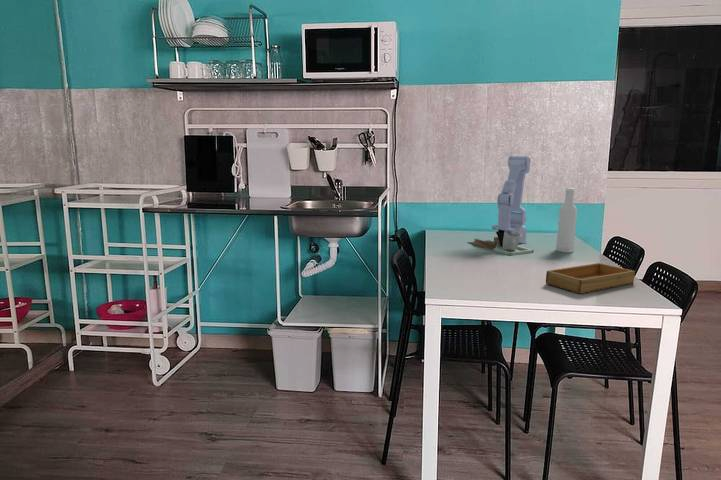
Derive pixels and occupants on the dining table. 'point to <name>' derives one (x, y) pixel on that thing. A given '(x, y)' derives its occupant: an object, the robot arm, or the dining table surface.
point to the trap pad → (486, 240)
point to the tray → (589, 277)
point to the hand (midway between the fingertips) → (502, 246)
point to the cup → (511, 240)
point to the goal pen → (515, 251)
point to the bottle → (567, 224)
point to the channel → (487, 243)
